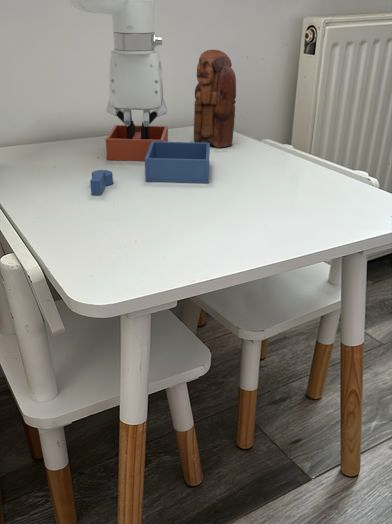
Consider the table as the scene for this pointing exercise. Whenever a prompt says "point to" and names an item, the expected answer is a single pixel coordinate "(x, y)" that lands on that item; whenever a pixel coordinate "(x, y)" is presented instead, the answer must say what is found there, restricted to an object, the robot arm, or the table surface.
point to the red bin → (132, 143)
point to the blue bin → (177, 162)
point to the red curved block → (137, 135)
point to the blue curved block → (100, 181)
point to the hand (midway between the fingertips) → (138, 145)
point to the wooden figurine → (214, 99)
